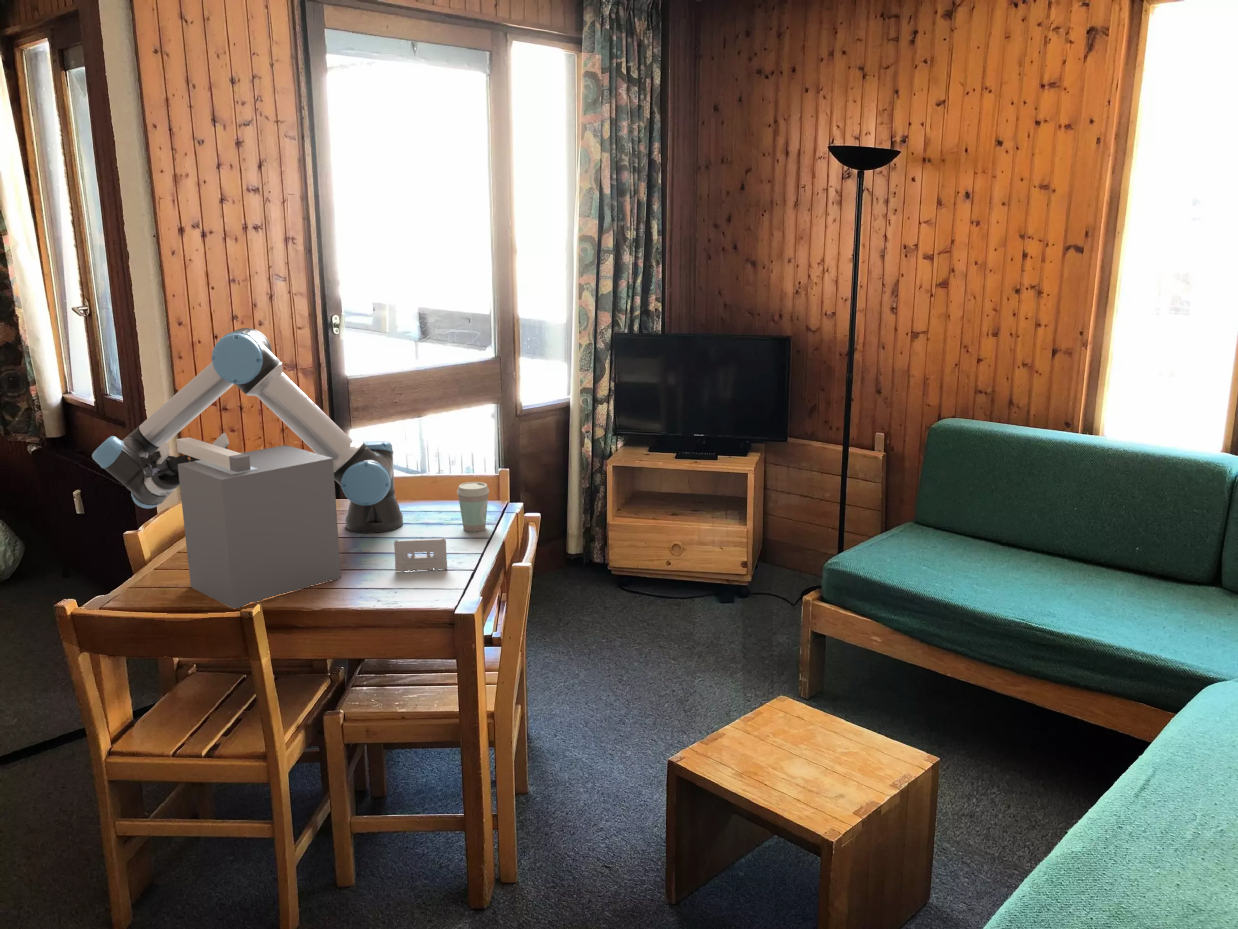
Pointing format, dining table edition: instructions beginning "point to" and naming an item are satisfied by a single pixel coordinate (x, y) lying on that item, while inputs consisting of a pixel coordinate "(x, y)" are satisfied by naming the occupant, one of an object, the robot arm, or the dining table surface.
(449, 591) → the dining table surface
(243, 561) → the grey box
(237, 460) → the bar
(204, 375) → the robot arm
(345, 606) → the dining table surface
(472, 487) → the coffee cup
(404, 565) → the cassette
